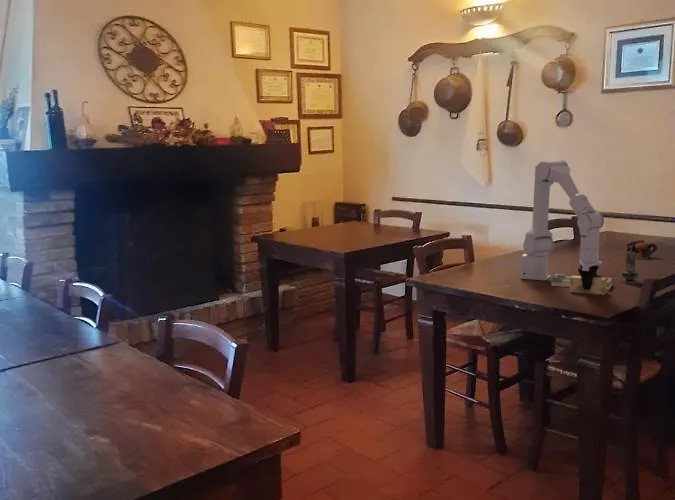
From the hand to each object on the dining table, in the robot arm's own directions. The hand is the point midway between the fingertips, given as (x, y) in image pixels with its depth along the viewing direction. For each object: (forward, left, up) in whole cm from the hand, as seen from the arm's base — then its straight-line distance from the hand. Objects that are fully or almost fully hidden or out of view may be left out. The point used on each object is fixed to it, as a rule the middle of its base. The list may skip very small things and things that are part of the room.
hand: (587, 288), depth 226 cm
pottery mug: (+11, +75, -2) cm, 76 cm away
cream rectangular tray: (-4, +10, -1) cm, 11 cm away
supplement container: (-4, +29, -2) cm, 29 cm away
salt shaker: (+11, +22, -2) cm, 25 cm away
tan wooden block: (0, 0, -1) cm, 1 cm away
